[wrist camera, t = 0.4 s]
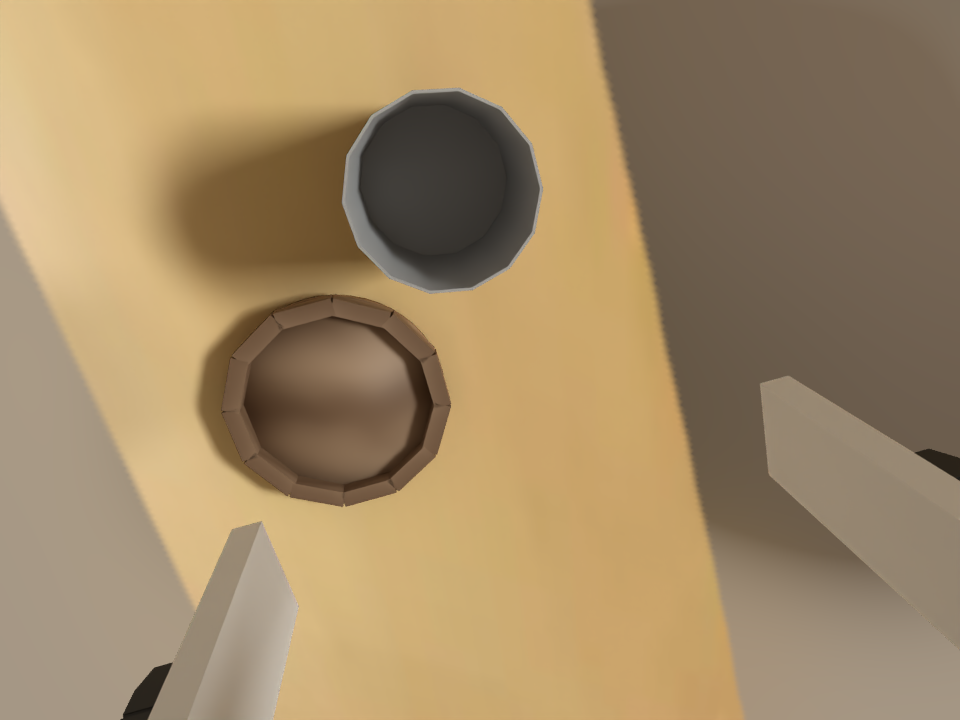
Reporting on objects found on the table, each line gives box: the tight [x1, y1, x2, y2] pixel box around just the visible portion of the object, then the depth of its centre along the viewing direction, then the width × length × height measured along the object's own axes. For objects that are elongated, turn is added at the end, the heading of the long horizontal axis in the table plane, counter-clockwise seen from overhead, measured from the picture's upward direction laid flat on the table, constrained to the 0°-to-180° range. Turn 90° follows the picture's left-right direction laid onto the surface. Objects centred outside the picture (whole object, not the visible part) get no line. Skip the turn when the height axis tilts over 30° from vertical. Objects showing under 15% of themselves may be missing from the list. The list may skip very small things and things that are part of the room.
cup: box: [342, 88, 543, 294], centre depth 31 cm, size 8×8×10 cm
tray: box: [221, 294, 451, 507], centre depth 39 cm, size 13×13×2 cm
